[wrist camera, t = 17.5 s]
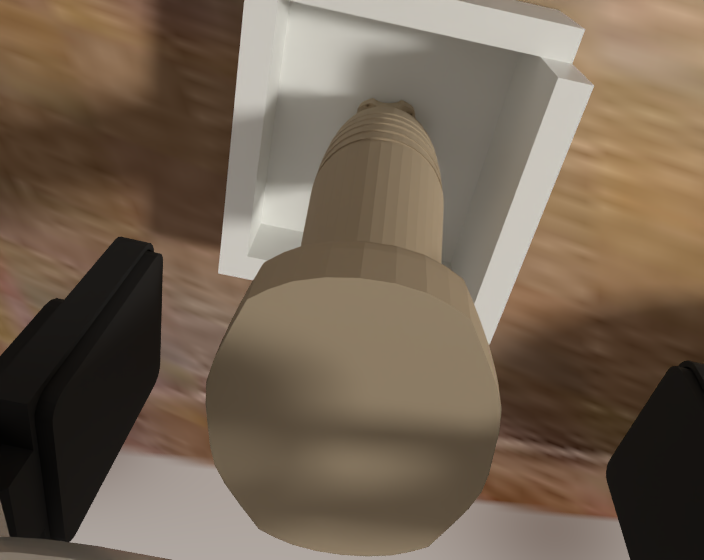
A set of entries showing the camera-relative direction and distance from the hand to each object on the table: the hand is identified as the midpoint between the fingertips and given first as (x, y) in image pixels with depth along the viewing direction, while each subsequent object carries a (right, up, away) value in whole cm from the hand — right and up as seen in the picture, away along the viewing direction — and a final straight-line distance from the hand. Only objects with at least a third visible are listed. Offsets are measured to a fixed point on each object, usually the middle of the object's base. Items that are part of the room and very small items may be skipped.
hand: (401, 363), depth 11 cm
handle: (0, +7, +12) cm, 14 cm away
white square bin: (0, +7, +12) cm, 14 cm away
